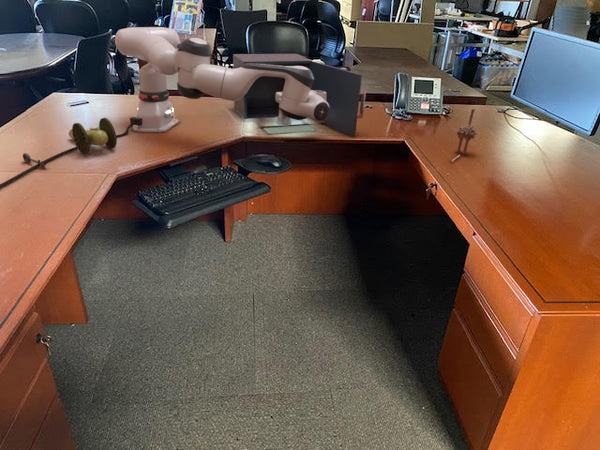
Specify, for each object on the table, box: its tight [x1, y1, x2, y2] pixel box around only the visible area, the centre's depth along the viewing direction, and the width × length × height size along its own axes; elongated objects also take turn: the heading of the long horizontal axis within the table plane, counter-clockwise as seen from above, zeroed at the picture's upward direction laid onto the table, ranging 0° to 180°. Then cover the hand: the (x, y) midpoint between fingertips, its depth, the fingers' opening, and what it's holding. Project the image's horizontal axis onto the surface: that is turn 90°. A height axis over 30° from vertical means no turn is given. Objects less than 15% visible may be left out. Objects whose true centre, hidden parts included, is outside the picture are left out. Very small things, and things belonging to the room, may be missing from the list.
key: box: [22, 152, 46, 170], centre depth 149 cm, size 12×1×3 cm, turn 58°
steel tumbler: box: [277, 103, 292, 127], centre depth 200 cm, size 6×6×12 cm
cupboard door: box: [310, 60, 367, 138], centre depth 200 cm, size 7×32×26 cm, turn 36°
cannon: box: [68, 117, 118, 156], centre depth 165 cm, size 25×12×11 cm, turn 48°
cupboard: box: [232, 53, 313, 120], centre depth 213 cm, size 20×32×26 cm, turn 111°
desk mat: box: [261, 123, 317, 136], centre depth 202 cm, size 18×22×1 cm
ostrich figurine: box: [451, 107, 478, 163], centre depth 173 cm, size 17×7×18 cm, turn 144°
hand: (294, 92), depth 186 cm, fingers open, 8 cm apart
